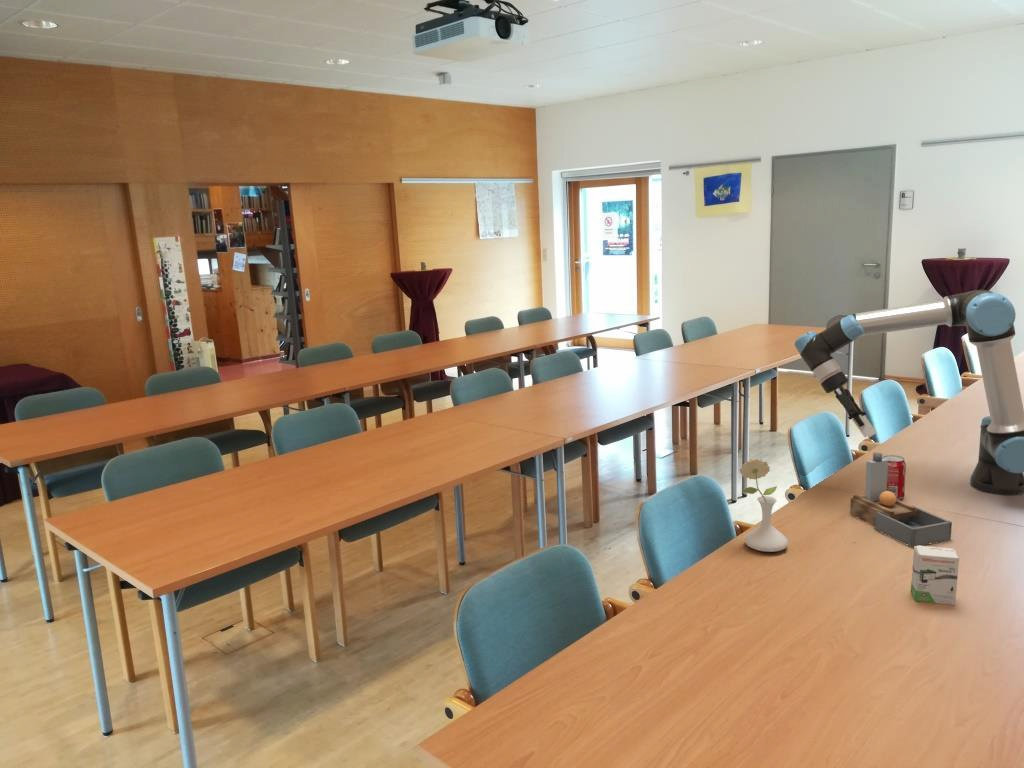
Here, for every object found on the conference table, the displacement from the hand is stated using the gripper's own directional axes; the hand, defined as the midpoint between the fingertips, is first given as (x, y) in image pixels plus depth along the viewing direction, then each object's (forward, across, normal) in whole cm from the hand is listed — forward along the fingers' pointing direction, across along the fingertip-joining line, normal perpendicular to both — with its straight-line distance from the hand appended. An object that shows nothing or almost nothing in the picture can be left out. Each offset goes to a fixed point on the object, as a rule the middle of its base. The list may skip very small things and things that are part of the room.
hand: (871, 435), depth 230 cm
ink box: (+40, +51, -6) cm, 65 cm away
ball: (+18, +10, -5) cm, 21 cm away
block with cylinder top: (+17, +6, -9) cm, 20 cm away
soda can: (+19, -13, -6) cm, 24 cm away
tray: (+29, +15, -5) cm, 33 cm away
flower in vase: (+13, +38, -37) cm, 55 cm away
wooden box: (+23, +7, -10) cm, 26 cm away
